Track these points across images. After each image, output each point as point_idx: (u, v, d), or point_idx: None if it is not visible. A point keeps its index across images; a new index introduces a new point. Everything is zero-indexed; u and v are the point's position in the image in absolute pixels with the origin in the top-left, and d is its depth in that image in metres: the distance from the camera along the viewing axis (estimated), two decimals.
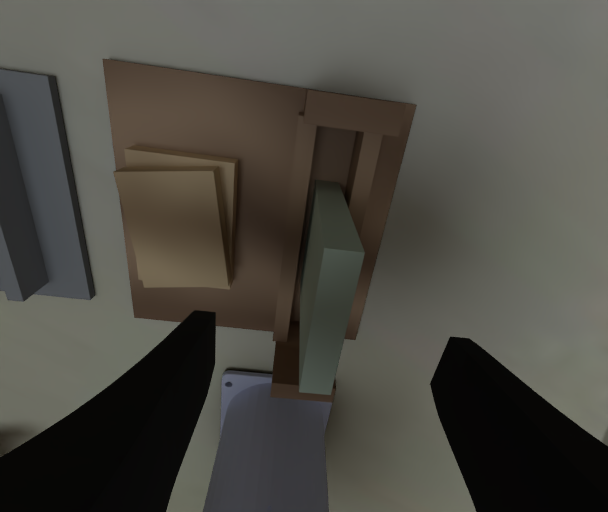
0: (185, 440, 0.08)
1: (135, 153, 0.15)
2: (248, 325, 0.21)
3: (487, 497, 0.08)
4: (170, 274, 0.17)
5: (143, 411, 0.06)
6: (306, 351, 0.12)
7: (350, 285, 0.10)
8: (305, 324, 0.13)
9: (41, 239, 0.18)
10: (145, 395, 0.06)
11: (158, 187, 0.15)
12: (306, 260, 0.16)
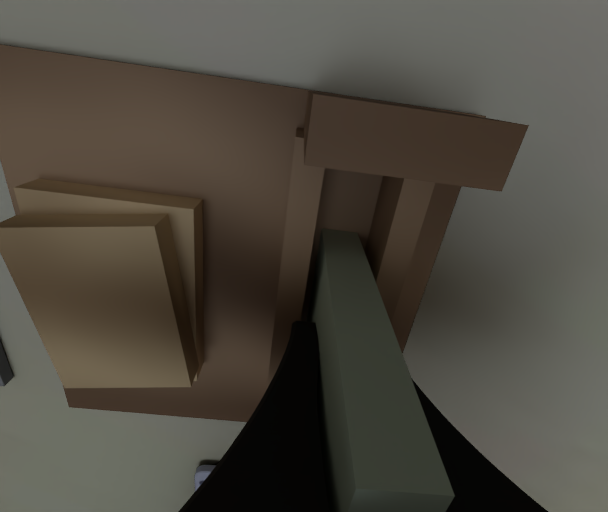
0: None
1: (33, 194, 0.09)
2: (227, 416, 0.15)
3: None
4: (101, 371, 0.11)
5: (306, 425, 0.06)
6: None
7: None
8: None
9: None
10: (303, 409, 0.06)
11: (66, 252, 0.09)
12: None
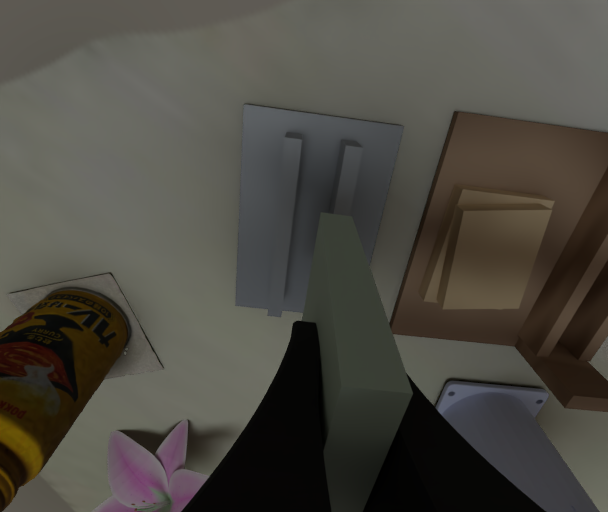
0: None
1: (470, 193, 0.17)
2: (490, 340, 0.23)
3: None
4: (471, 298, 0.19)
5: (308, 425, 0.06)
6: None
7: (383, 436, 0.06)
8: None
9: None
10: (304, 409, 0.06)
11: (496, 224, 0.17)
12: None
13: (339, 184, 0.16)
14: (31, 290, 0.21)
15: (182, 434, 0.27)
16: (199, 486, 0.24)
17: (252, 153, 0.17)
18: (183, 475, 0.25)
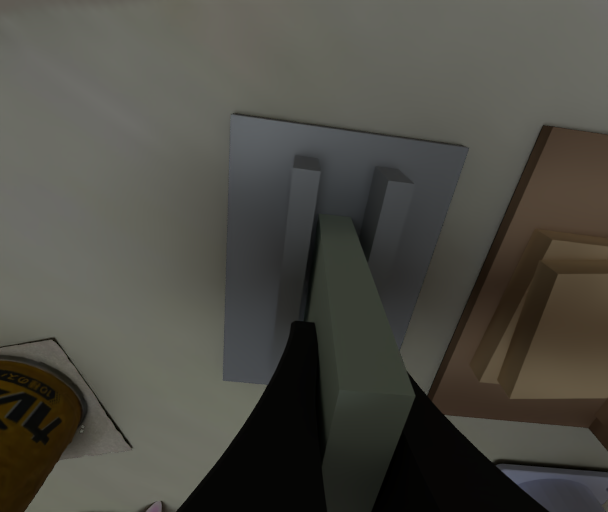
0: None
1: (562, 244, 0.12)
2: (558, 421, 0.17)
3: None
4: (551, 385, 0.14)
5: (305, 425, 0.06)
6: None
7: (385, 442, 0.06)
8: None
9: None
10: (301, 408, 0.06)
11: (604, 292, 0.11)
12: None
13: (375, 236, 0.11)
14: None
15: None
16: None
17: (244, 185, 0.12)
18: None
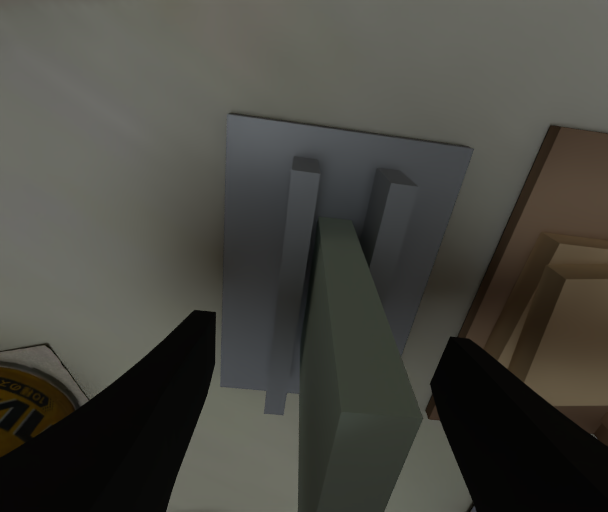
0: (185, 440, 0.08)
1: (570, 248, 0.11)
2: None
3: (487, 497, 0.08)
4: (557, 392, 0.13)
5: (143, 411, 0.06)
6: None
7: (390, 465, 0.05)
8: (306, 469, 0.08)
9: None
10: (146, 395, 0.06)
11: None
12: (307, 333, 0.11)
13: (376, 241, 0.10)
14: None
15: None
16: None
17: (241, 187, 0.11)
18: None
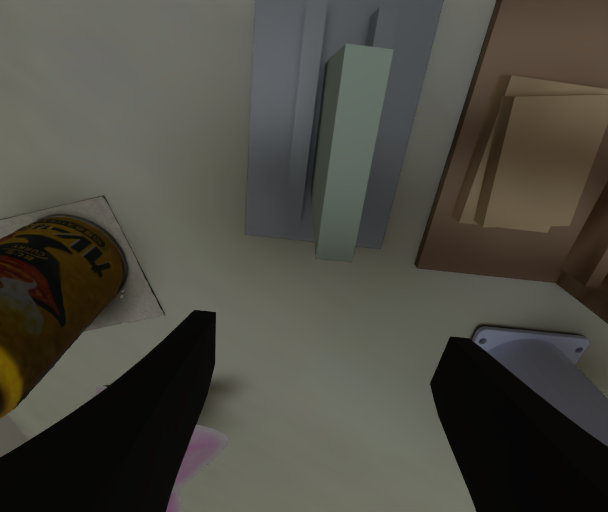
0: (185, 440, 0.08)
1: (520, 80, 0.15)
2: (529, 275, 0.21)
3: (487, 497, 0.08)
4: (516, 212, 0.17)
5: (143, 411, 0.06)
6: (324, 201, 0.10)
7: (376, 100, 0.09)
8: (321, 188, 0.11)
9: None
10: (146, 395, 0.06)
11: (552, 114, 0.14)
12: (317, 149, 0.15)
13: None
14: (15, 219, 0.19)
15: None
16: (192, 438, 0.22)
17: (266, 36, 0.15)
18: None
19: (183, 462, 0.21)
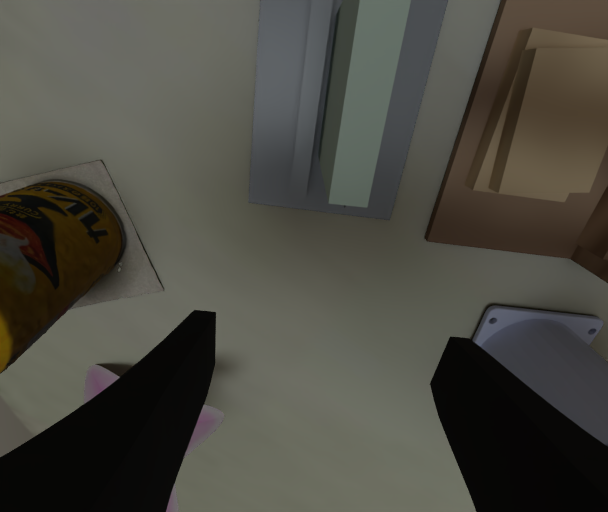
0: (185, 440, 0.08)
1: (541, 33, 0.14)
2: (543, 250, 0.20)
3: (487, 497, 0.08)
4: (534, 177, 0.16)
5: (143, 411, 0.06)
6: (339, 135, 0.09)
7: (399, 15, 0.08)
8: (334, 130, 0.11)
9: None
10: (146, 395, 0.06)
11: (575, 68, 0.14)
12: (327, 103, 0.14)
13: None
14: (8, 183, 0.18)
15: None
16: None
17: None
18: None
19: None
